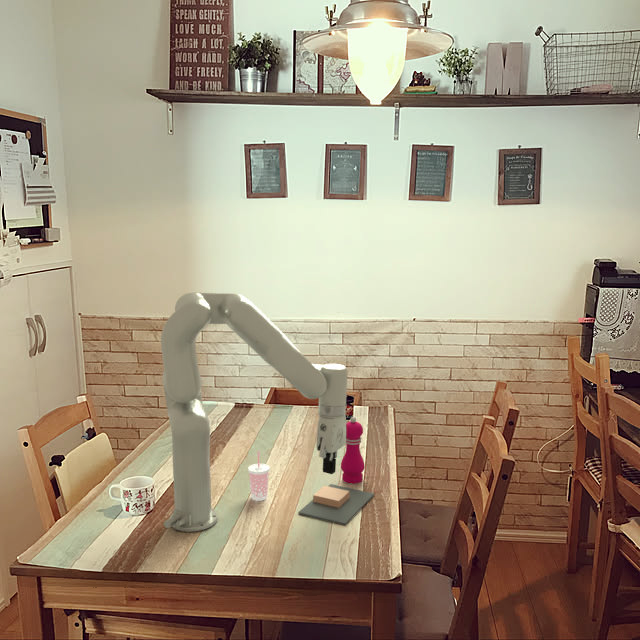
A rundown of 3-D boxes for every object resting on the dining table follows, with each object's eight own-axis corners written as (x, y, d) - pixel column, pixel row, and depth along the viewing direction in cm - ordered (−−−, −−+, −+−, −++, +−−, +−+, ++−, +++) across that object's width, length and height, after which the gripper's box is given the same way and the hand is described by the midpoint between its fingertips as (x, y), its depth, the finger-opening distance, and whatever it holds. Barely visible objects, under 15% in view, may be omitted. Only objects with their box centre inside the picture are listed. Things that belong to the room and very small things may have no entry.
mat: (345, 525, 173) (345, 523, 173) (298, 514, 179) (298, 512, 179) (374, 495, 191) (374, 493, 191) (330, 485, 197) (330, 484, 197)
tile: (338, 501, 181) (349, 491, 188) (313, 495, 185) (324, 485, 191) (338, 507, 182) (349, 497, 188) (313, 501, 185) (324, 492, 192)
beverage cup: (265, 503, 186) (264, 456, 183) (245, 500, 188) (244, 453, 185) (273, 494, 192) (272, 448, 189) (253, 491, 193) (252, 445, 191)
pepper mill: (337, 482, 199) (337, 419, 196) (344, 473, 206) (345, 412, 202) (360, 486, 197) (361, 422, 193) (367, 476, 204) (368, 414, 200)
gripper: (332, 418, 174) (328, 484, 177) (355, 405, 187) (352, 466, 190) (307, 413, 177) (304, 478, 180) (332, 400, 190) (329, 461, 193)
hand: (328, 472), depth 185 cm, fingers closed
